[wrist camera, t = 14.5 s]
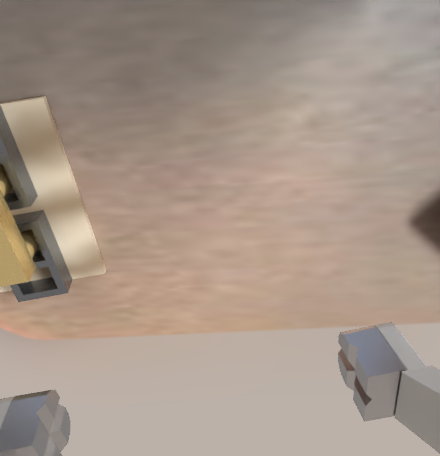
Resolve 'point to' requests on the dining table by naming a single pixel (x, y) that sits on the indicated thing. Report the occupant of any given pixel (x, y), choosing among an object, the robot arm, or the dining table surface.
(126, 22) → the dining table surface
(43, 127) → the chain board
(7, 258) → the tan bar
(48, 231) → the chain ends
